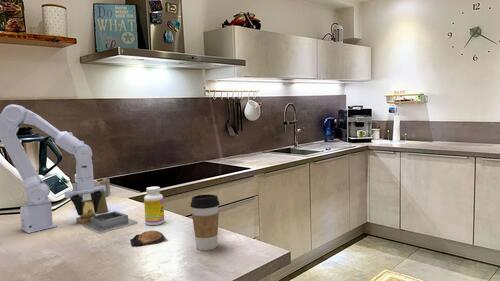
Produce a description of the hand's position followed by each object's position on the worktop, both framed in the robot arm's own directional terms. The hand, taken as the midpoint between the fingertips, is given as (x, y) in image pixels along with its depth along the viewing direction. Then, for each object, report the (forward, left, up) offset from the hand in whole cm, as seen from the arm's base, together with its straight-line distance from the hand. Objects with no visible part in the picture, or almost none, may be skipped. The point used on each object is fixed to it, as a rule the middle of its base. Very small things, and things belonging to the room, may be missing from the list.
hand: (87, 213), depth 137 cm
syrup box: (+9, +23, -3) cm, 25 cm away
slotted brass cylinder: (0, 0, -1) cm, 1 cm away
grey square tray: (+3, -11, -3) cm, 12 cm away
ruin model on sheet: (+26, +39, -4) cm, 47 cm away
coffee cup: (+10, -56, -3) cm, 57 cm away
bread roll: (+2, -38, -4) cm, 38 cm away
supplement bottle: (+14, -23, -3) cm, 27 cm away
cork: (+9, +9, -3) cm, 13 cm away
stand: (0, 0, -3) cm, 3 cm away
